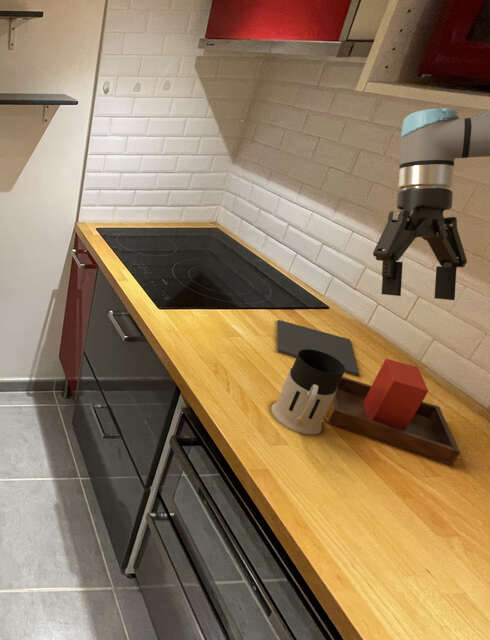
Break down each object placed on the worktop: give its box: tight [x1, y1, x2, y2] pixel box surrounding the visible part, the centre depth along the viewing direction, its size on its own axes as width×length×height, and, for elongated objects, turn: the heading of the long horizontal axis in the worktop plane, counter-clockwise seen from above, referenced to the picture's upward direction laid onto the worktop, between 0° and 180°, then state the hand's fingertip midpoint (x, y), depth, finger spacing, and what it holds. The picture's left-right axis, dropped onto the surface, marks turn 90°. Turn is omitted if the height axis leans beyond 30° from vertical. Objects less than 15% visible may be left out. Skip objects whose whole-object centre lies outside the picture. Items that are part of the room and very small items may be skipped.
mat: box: [276, 319, 359, 377], centre depth 116 cm, size 16×16×1 cm
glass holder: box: [270, 349, 346, 435], centre depth 89 cm, size 9×14×15 cm, turn 140°
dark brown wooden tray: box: [326, 376, 461, 467], centre depth 93 cm, size 19×14×4 cm
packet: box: [363, 358, 429, 431], centre depth 91 cm, size 5×8×12 cm, turn 147°
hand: (418, 297), depth 87 cm, fingers open, 13 cm apart
